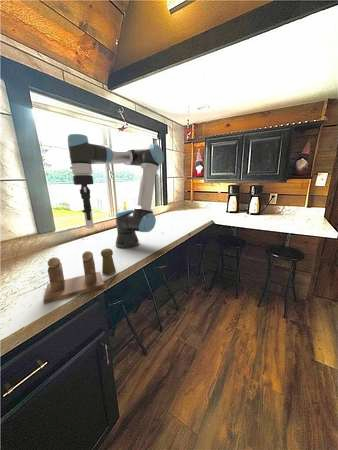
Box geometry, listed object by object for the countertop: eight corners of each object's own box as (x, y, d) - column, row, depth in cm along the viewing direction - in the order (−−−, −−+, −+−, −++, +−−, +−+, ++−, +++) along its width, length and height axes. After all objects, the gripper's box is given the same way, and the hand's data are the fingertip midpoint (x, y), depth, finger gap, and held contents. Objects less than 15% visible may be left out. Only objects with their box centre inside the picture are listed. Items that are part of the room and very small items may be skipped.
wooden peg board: (100, 274, 82) (96, 245, 79) (104, 287, 72) (100, 254, 69) (48, 287, 73) (41, 254, 70) (44, 303, 63) (36, 266, 60)
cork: (118, 271, 85) (116, 248, 82) (106, 276, 81) (103, 252, 78) (111, 267, 89) (109, 246, 86) (99, 272, 85) (96, 249, 82)
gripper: (73, 176, 85) (80, 220, 90) (71, 173, 63) (79, 232, 68) (91, 176, 88) (96, 219, 93) (94, 173, 66) (101, 229, 71)
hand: (89, 224), depth 80 cm, fingers open, 13 cm apart
